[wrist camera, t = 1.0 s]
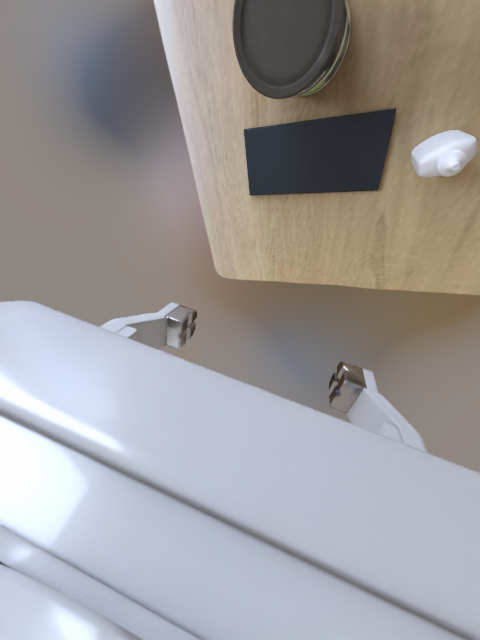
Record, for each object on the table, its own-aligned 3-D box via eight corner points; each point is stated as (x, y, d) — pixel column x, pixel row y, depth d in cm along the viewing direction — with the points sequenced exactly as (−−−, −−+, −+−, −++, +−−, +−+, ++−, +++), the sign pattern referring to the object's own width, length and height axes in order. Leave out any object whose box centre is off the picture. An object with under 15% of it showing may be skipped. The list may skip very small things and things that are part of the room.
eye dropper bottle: (448, 168, 35) (472, 192, 27) (405, 164, 36) (416, 187, 28) (468, 130, 32) (503, 144, 24) (420, 127, 33) (438, 140, 25)
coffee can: (349, 83, 33) (341, 81, 23) (275, 105, 37) (243, 111, 27) (355, -45, 26) (349, -120, 17) (265, -1, 31) (220, -42, 21)
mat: (244, 129, 40) (243, 129, 40) (396, 108, 33) (396, 108, 32) (250, 194, 47) (249, 195, 47) (377, 189, 39) (377, 190, 39)
